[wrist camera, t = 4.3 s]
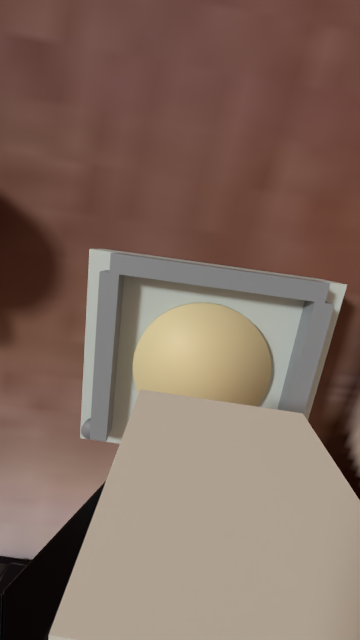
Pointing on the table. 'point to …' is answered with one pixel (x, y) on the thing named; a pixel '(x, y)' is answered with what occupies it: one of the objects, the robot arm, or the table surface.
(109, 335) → the grey tray
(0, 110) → the table surface
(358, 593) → the spout can
